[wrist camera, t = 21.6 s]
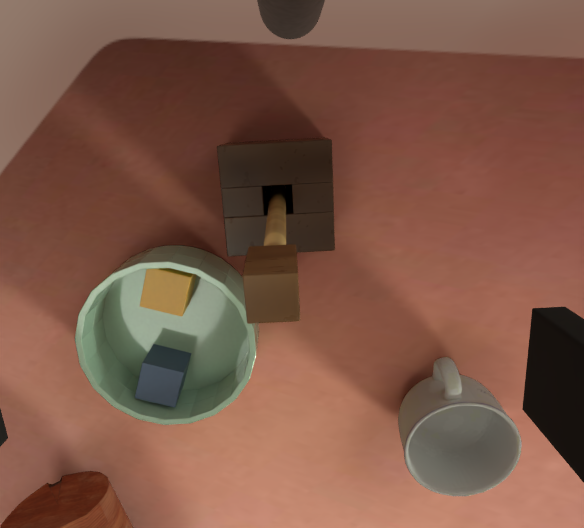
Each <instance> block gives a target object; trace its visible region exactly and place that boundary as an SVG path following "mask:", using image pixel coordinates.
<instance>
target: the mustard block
mask: <svg viewBox="0 0 584 528" xmlns="http://www.w3.org/2000/svg"><path fill="white" fill-rule="evenodd" d="M196 276H197V275H196V274H192V273H187V272H183V271H179V270H175V269H171V268H158V269H146V275H145V280H144V285H143V290H142V295H141V300H140V305H139V306H140V307H144V308H148V309H152V310H156V311H161V312H165V313H169V314H173V315H177V316H181V317H182V316H183V314H184V313H185V311H186V309H187V307H188V305H189V303H190V301H191V298H192V293H193V289H194V284H195V280H196Z"/></svg>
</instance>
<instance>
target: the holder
mask: <svg viewBox="0 0 584 528" xmlns="http://www.w3.org/2000/svg"><path fill="white" fill-rule="evenodd" d="M217 152H218V163H219V173H220V183H221V193H222V204H223V214H224V224H225V234H226V245H227V255H228V256H243V255H247V252H248V248H249V247H250V246H264V239H265V231H266V223H267V215H268V207H269V202H267V192H266V186H269V185H287V184H291V188H292V201H286V245H289V244H296V251H297V252H314V251H332V250H335V239H334V212H333V211H334V203H333V168H332V140H331V139H328V138H324V137H321V138H304V139H286V140H268V141H250V142H233V143H225V144H222V145H219V146H217Z"/></svg>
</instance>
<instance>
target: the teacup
mask: <svg viewBox="0 0 584 528" xmlns="http://www.w3.org/2000/svg"><path fill="white" fill-rule="evenodd" d="M398 425H399V432H400V437H401V441H402V446H403V449H404V457H405V462H406V465H407V467H408V469H409V471H410V473H411V475H412V476H413V477H414V478H415V480H416V481H417V482H419V483H420V484H421V485H422V486H424V487H425V488H427V489H429V490H431V491H433V492H436V493H439V494H443V495H449V496H469V495H474V494H478V493H482V492H485V491H487V490H489V489H491V488H494V487H495V486H497V485H498V484H499V483H501V482H502V481H503V480H505V479H506V478H507V477H508V476H509V475H510V473H511V472H512V471H513V469H514V468H515V466H516V464H517V462H518V460H519V457H520V453H521V437H520V435H519V431H518V429H517V427H516V425H515V424H514V422H513V421H512V419H511V418H509V416H508V415H507V414H506V413H505V411H504V410H503V408H502V407H501V405H500V404H499V402H498V401H497V400H496V398H495V397H494V396H493V395H492V394H491V392H490V391H489V390H488V389H487V388H485V387H484V386H483V385H482V384H481V383H479V382H478V381H476V380H474V379H472V378H470V377H467V376H464V375H459V372H458V369H457V367H456V365H455V363H454V361H453V360H452V359H451V358H448V357H443V358H439V359H437V360H435V362H434V367H433V374H432V376H431V377H428V378H426V379H424V380H422V381H420V382H419V383H417V384H416V385H415V386H414V387H413V388H411V389H410V391H409V392H408V393H407V394H406V396H405V397H404V399H403V401H402V403H401V406H400V410H399V415H398Z"/></svg>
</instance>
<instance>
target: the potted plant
mask: <svg viewBox="0 0 584 528" xmlns="http://www.w3.org/2000/svg"><path fill="white" fill-rule="evenodd" d="M1 528H133V526H132V524H131V522H130V520H129V518H128V517H127V515H126V513H125V511H124V509H123V507H122V505H121V503H120V501H119V499H118V497H117V495H116V493H115V491H114V490H113V488H112V486H111V484H110V482H109V480H108V478H107V476H105V475H103V474H102V473H100V472H93V471H88V472H81V473H75V474H70V475H66V476H62V478H61V480H60V481H59V482H57V483H55V484H48V483H47V484H45V485H44V486H42V487H41V488H40V489H38V490H37V491H35V492H34V493H33V494H31V495H30V496H29V497H28V498H26V499H25V500H24V501H23V502H21V503H20V504H19V505H18V506H17V507H16V508H15V509H14V510H13V511H12V513H11V514H10V515H9V516H8V517H7V518H6V519H5V521H4V522H3V523H2V524H1Z"/></svg>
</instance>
